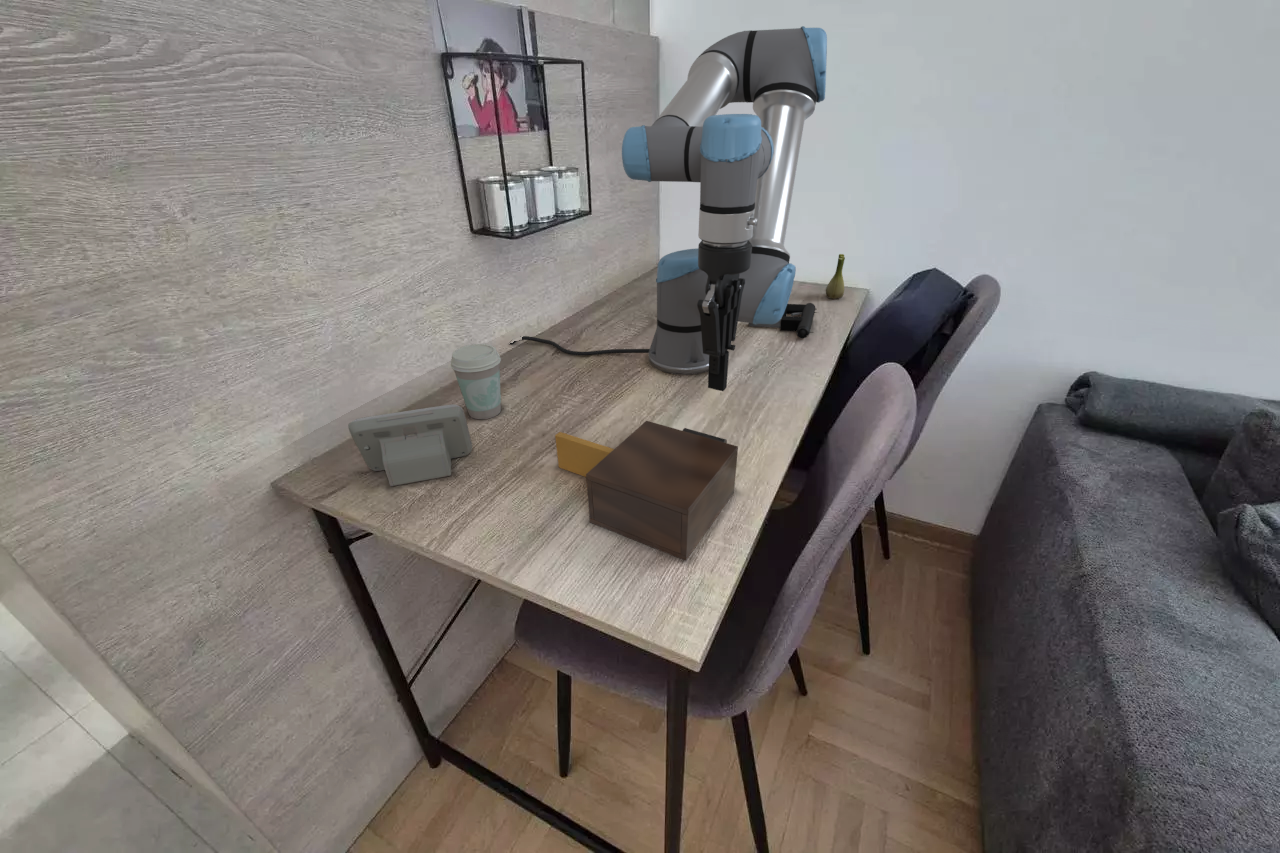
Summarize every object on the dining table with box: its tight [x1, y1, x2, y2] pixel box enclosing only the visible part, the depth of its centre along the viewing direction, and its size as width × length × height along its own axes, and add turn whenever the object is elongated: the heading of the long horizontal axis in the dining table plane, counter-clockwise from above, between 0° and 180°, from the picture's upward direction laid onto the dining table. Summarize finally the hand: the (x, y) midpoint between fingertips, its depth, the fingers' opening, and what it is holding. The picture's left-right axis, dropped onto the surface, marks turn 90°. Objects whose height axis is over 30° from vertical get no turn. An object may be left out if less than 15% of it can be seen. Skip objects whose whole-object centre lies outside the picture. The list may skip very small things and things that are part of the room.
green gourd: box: [825, 253, 846, 300], centre depth 151 cm, size 6×5×12 cm
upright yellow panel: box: [554, 431, 615, 478], centre depth 82 cm, size 10×1×6 cm, turn 60°
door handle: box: [748, 302, 818, 340], centre depth 136 cm, size 3×20×16 cm
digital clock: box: [347, 403, 473, 487], centre depth 83 cm, size 16×9×11 cm, turn 96°
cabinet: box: [585, 420, 739, 561], centre depth 74 cm, size 16×15×8 cm
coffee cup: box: [450, 343, 502, 420], centre depth 98 cm, size 8×9×12 cm
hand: (717, 387), depth 89 cm, fingers closed
